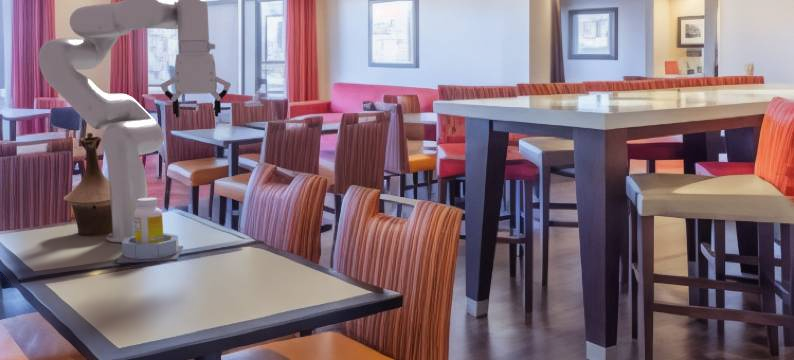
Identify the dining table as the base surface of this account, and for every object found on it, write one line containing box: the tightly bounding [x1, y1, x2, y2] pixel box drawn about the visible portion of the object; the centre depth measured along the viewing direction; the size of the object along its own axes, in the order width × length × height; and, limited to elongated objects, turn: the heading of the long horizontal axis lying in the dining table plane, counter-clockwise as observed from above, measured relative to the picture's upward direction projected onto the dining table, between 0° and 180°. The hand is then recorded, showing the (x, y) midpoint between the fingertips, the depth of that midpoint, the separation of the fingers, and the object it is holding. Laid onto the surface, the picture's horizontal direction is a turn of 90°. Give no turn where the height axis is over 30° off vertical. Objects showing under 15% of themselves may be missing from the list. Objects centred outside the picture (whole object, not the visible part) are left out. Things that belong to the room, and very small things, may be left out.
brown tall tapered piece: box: [63, 132, 112, 237], centre depth 230 cm, size 18×17×28 cm
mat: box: [116, 245, 184, 264], centre depth 204 cm, size 14×14×1 cm
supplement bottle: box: [134, 197, 164, 244], centre depth 203 cm, size 7×7×13 cm
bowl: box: [121, 232, 180, 260], centre depth 203 cm, size 13×13×4 cm
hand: (197, 116), depth 209 cm, fingers open, 9 cm apart
